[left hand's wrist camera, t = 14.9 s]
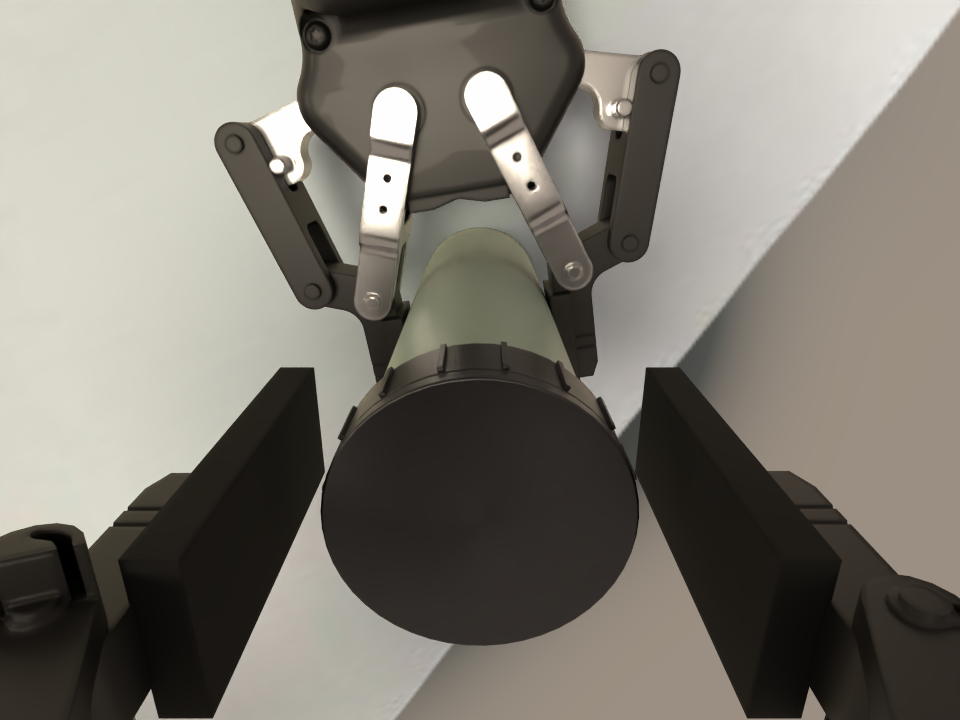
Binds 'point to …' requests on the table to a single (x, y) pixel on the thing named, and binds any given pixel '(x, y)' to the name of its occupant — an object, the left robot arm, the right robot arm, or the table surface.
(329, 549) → the lid
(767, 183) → the table surface
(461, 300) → the bottle
